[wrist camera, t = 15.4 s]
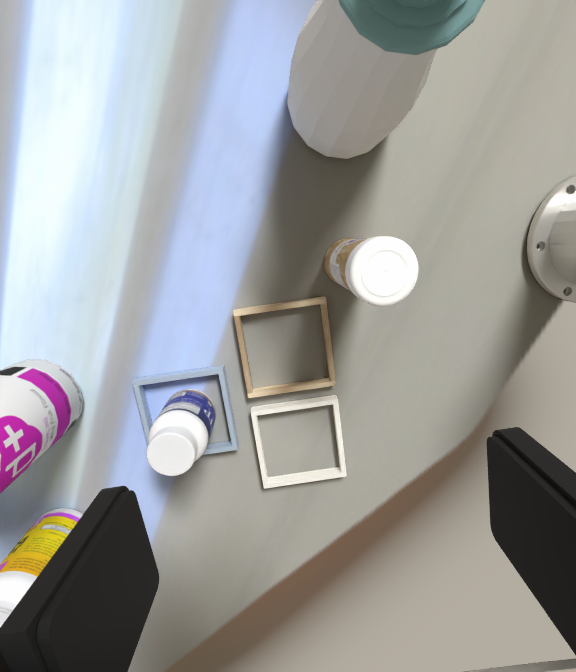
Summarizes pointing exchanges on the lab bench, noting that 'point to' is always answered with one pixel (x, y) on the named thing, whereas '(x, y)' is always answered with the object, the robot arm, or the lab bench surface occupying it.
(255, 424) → the tray white
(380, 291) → the sprinkles bottle
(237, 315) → the tray birch
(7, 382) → the supplement can
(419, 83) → the soap bottle
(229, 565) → the lab bench surface
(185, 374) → the tray slate
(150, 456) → the pill bottle
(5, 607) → the supplement bottle
